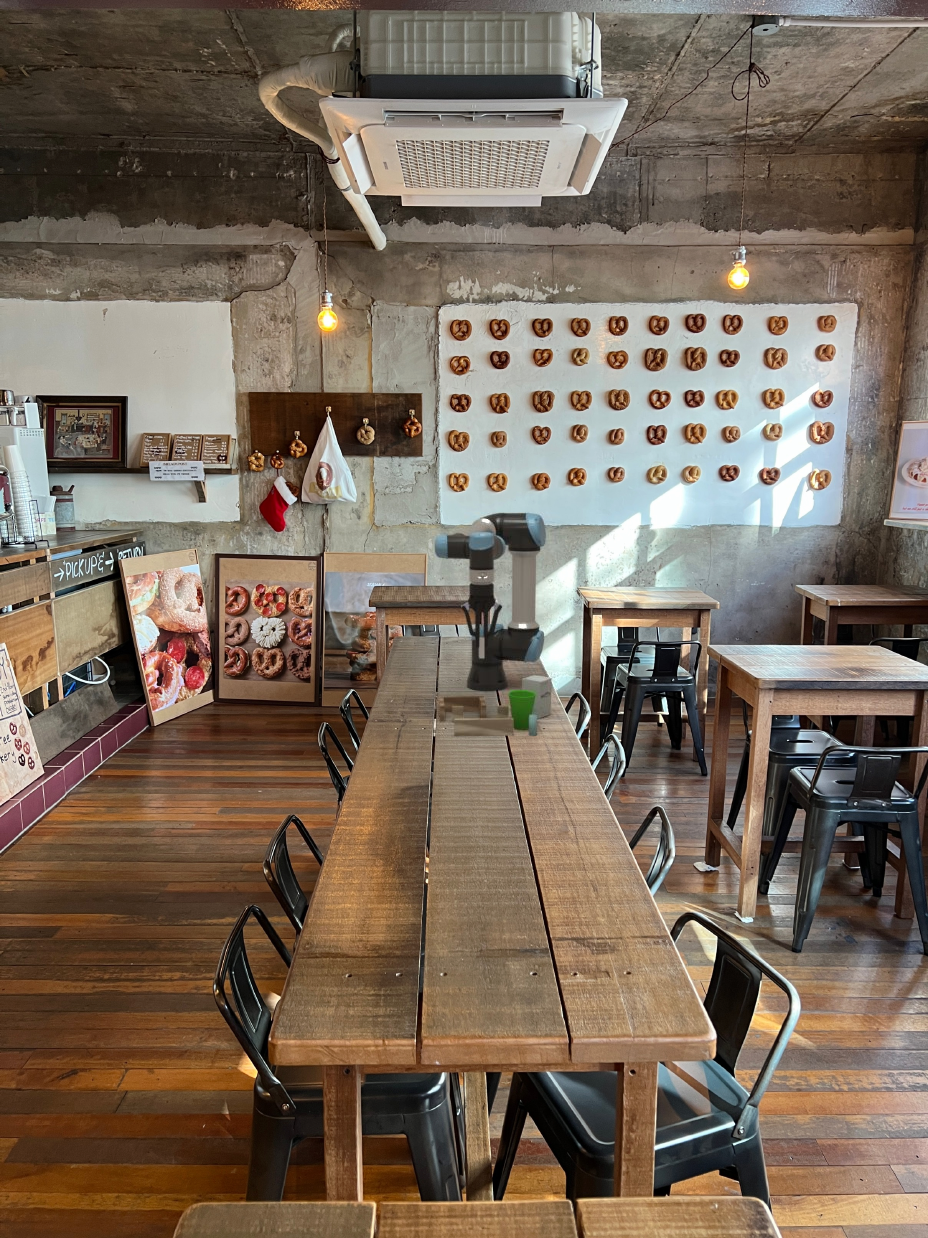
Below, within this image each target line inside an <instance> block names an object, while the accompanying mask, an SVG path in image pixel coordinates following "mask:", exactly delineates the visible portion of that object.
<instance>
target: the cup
mask: <svg viewBox="0 0 928 1238" xmlns="http://www.w3.org/2000/svg"><path fill="white" fill-rule="evenodd" d="M507 695H508V699H509V707H510V712H511V713H510V714H511V718H513V719H514V729H515V730H521V731H523V730H529V715H532V712H533V706H534V701H535V696H536V695H537V694H536V693H535V692H533V691H528V690H522V689H515V690H509V692H508V693H507Z"/></svg>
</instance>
